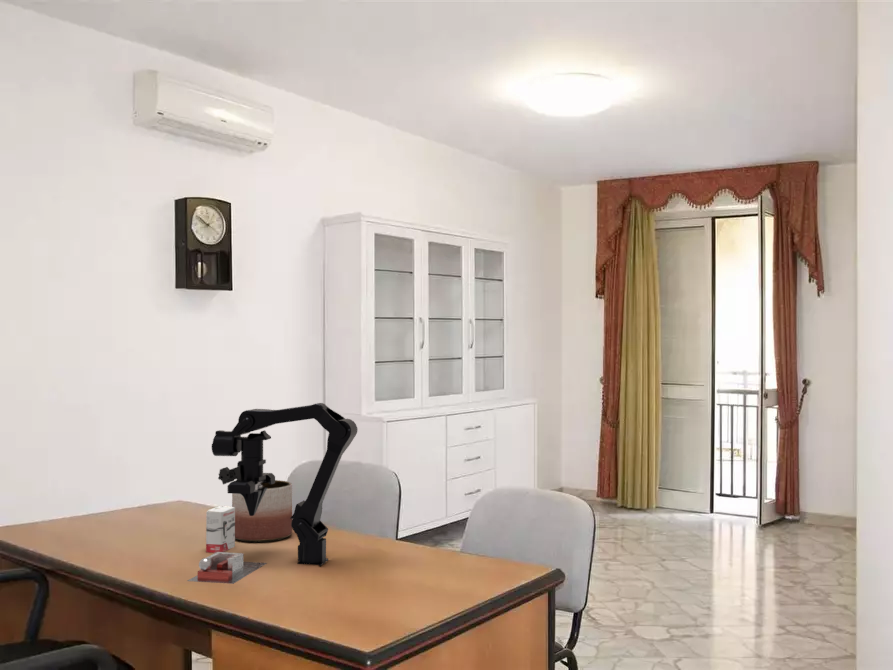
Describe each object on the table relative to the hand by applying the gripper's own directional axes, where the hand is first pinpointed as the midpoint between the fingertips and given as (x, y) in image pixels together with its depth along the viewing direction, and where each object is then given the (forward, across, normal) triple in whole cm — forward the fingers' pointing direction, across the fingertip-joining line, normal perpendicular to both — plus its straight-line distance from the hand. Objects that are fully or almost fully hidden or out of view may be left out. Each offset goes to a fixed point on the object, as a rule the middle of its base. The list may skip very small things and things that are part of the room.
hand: (252, 515), depth 225 cm
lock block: (+11, +15, -1) cm, 19 cm away
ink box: (+12, -9, -13) cm, 20 cm away
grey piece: (+12, +13, -1) cm, 18 cm away
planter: (+12, -28, -8) cm, 32 cm away
